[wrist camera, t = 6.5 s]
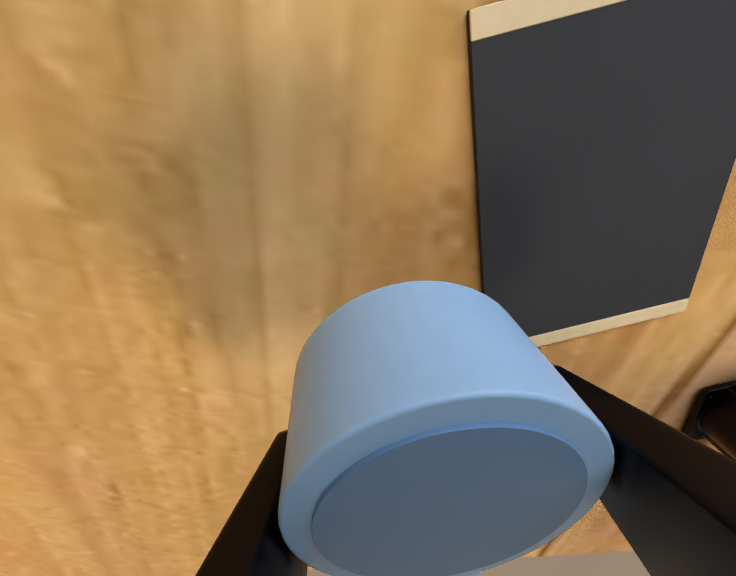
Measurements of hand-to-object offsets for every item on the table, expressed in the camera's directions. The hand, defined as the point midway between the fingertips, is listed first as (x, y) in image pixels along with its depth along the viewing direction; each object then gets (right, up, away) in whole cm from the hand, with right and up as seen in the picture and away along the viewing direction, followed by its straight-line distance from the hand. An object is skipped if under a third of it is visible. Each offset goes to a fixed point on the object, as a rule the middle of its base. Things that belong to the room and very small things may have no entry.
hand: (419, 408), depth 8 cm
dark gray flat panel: (+11, +8, +8) cm, 16 cm away
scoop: (0, -2, +2) cm, 3 cm away
